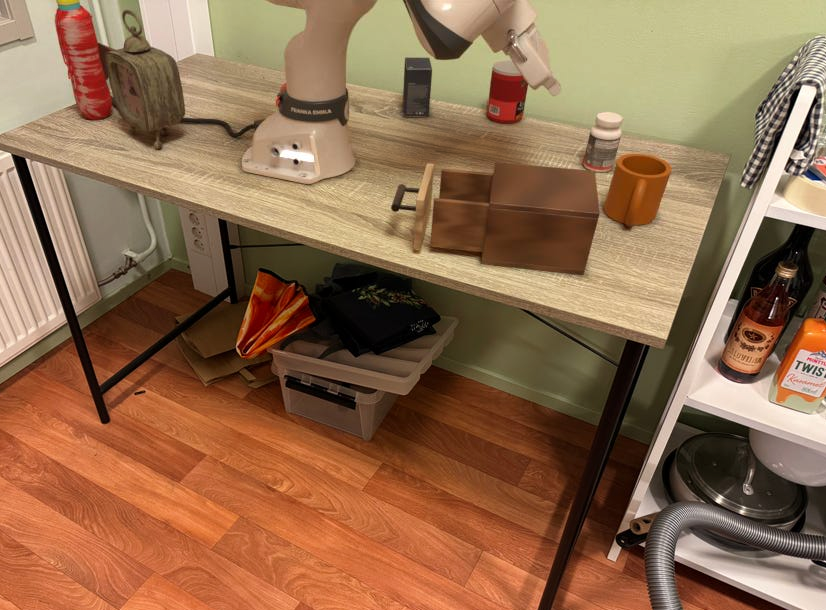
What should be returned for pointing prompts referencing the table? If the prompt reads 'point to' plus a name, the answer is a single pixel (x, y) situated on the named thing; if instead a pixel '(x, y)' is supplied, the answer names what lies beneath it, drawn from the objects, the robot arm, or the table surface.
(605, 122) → the pill bottle
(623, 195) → the mug
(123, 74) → the tabletop clock
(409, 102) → the box
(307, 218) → the table surface
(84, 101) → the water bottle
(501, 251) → the cabinet
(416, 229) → the drawer
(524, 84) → the canned food
